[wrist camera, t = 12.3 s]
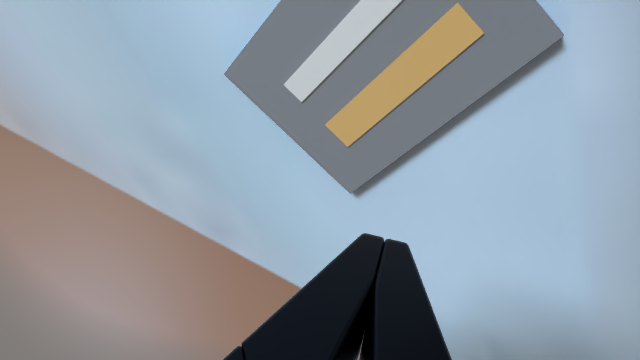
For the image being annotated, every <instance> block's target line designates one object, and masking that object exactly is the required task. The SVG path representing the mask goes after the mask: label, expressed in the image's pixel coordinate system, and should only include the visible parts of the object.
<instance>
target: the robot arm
mask: <svg viewBox="0 0 640 360" xmlns="http://www.w3.org/2000/svg"><path fill="white" fill-rule="evenodd" d="M363 336H364V337H363ZM362 341H363V342H362ZM361 344H362V347H361ZM360 348H361V353H360V359H359V360H452V359H451V357H450V354H449V351H448V349H447V346H446V343H445V341H444V338H443V336H442V333H441V330H440V328H439V325H438V322H437V320H436V317H435V314H434V312H433V309H432V306H431V304H430V301H429V299H428V296H427V293H426V291H425V288H424V285H423V283H422V280H421V277H420V275H419V272H418V269H417V267H416V264H415V262H414V259H413V256H412V254H411V251H410V248H409V246H408V245H407V244H406V243H404V242H400V241H396V240H392V239H386V240H385V242H384V239H383V238H382V237H379V236H375V235H371V234H366V233H364V234H362V235H360V236H359V237H358V238H357V239H356V240H355V241H354V242H353V243H352V244H350V245H349V246H348V247H347V248H346V249H345V250H344V251H343V252H342V253H341V254H339V255H338V256H337V257H336V258H335V259H334V260H333V261H332V262H331V263H329V264H328V265H327V266H326V267H325V268H324V269H323V270H322V271H321V272H320V273H318V274H317V275H316V276H315V277H314V278H313V279H312V280H311V281H310V282H309V283H307V284H306V285H305V286H304V287H303V288H302V289H301V290H300V291H299V292H297V293H296V295H294V296H293V297H292V298H291V299H290V300H289V301H288V302H286V304H284V305H283V306H282V307H281V308H280V309H279V310H278V311H277V312H275V313H274V314H273V315H272V316H271V317H270V318H269V319H268V320H267V321H266V322H264V323H263V324H262V325H261V326H260V327H259V328H258V329H257V330H256V331H255V332H253V333H252V334H251V335H250V336H249V337H248V338H247V339H246V340H245V341H243V342H242V347H240V346H238V347H236V348H235V349H234V350H233V351H232V352H231V353H230V354H229V355H228V356H227V357H226V358H224V359H223V360H357V358H358V355H359V352H360Z"/></svg>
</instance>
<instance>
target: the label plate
mask: <svg viewBox="0 0 640 360" xmlns="http://www.w3.org/2000/svg"><path fill="white" fill-rule="evenodd" d="M563 36H564V34H563V33H562V32H561V30H560V29H559V28H558V27H557V25H556V24H555V23H554V22H553V21H552V19H551V18H550V17H549V16H548V15H547V13H546V12H545V11H544V10H543V8H542V7H541V6H540V5H539V4H538V2H537V1H536V0H281V1H280V2H279V4H278V5H277V6H276V7H275V9H274V10H273V11H272V13H271V14H270V15H269V17H268V18H267V19H266V20H265V22H264V23H263V24H262V26H261V27H260V28H259V29H258V31H257V32H256V33H255V35H254V36H253V37H252V39H251V40H250V41H249V42H248V44H247V45H246V46H245V48H244V49H243V50H242V51H241V53H240V54H239V55H238V57H237V58H236V59H235V61H234V62H233V63H232V64H231V66H230V67H229V68H228V70H227V71H226V72H225V73H224V75H225V76H226V77H227V78H228V79H229V80H230V81H231V82H232V83H234V84H235V85H236V86H237V87H238V88H239V89H240V90H241V91H242V92H243V93H244V94H245V95H246V96H247V97H248V98H249V99H251V100H252V101H253V102H254V103H255V104H256V105H257V106H258V107H259V108H260V109H261V110H262V111H263V112H264V113H265V114H266V115H267V116H269V117H270V118H271V119H272V120H273V121H274V122H275V123H276V124H277V125H278V126H279V127H280V128H281V129H282V130H283V131H284V132H285V133H287V134H288V135H289V136H290V137H291V138H292V139H293V140H294V141H295V142H296V143H297V144H298V145H299V146H300V147H301V148H302V149H303V150H305V151H306V152H307V153H308V154H309V155H310V156H311V157H312V158H313V159H314V160H315V161H316V162H317V163H318V164H319V165H320V166H321V167H323V168H324V169H325V170H326V171H327V172H328V173H329V174H330V175H331V176H332V177H333V178H334V179H335V180H336V181H337V182H338V183H340V184H341V185H342V186H343V187H344V188H345V189H346V190H347V191H348V192H349V193H350V194H351V193H352V192H353V191H355V190H356V189H357V188H359V187H360V186H361V185H363V184H364V183H365V182H367V181H368V180H370V179H371V178H372V177H374V176H375V175H376V174H378V173H379V172H380V171H382V170H383V169H384V168H386V167H387V166H388V165H390V164H391V163H393V162H394V161H395V160H397V159H398V158H399V157H401V156H402V155H403V154H405V153H406V152H407V151H409V150H410V149H411V148H413V147H414V146H416V145H417V144H418V143H420V142H421V141H422V140H424V139H425V138H426V137H428V136H429V135H430V134H432V133H433V132H434V131H436V130H437V129H439V128H440V127H441V126H443V125H444V124H445V123H447V122H448V121H449V120H451V119H452V118H453V117H455V116H456V115H457V114H459V113H460V112H462V111H463V110H464V109H466V108H467V107H468V106H470V105H471V104H472V103H474V102H475V101H476V100H478V99H479V98H480V97H482V96H483V95H485V94H486V93H487V92H489V91H490V90H491V89H493V88H494V87H495V86H497V85H498V84H499V83H501V82H502V81H503V80H505V79H506V78H508V77H509V76H510V75H512V74H513V73H514V72H516V71H517V70H518V69H520V68H521V67H522V66H524V65H525V64H526V63H528V62H529V61H531V60H532V59H533V58H535V57H536V56H537V55H539V54H540V53H541V52H543V51H544V50H545V49H547V48H548V47H549V46H551V45H552V44H554V43H555V42H556V41H558V40H559V39H560V38H562V37H563Z"/></svg>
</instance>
